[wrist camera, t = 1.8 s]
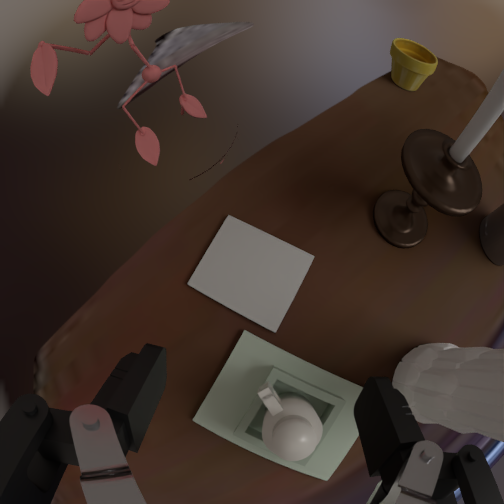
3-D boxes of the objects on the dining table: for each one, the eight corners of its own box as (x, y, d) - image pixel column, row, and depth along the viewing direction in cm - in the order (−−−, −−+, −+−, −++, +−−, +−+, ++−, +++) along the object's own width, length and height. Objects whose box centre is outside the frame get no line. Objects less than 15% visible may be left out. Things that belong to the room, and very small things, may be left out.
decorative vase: (387, 354, 32) (534, 356, 8) (449, 334, 32) (587, 307, 8) (393, 427, 29) (514, 496, 5) (453, 402, 29) (581, 424, 5)
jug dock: (379, 394, 31) (390, 399, 27) (326, 478, 27) (330, 490, 24) (245, 330, 35) (242, 329, 31) (194, 418, 32) (185, 426, 28)
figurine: (108, 175, 44) (-8, 27, 10) (210, 88, 49) (176, -70, 15) (158, 226, 40) (1, 30, 7) (271, 121, 45) (266, -77, 12)
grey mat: (314, 257, 37) (314, 256, 36) (275, 332, 34) (275, 332, 34) (229, 216, 40) (228, 214, 39) (188, 284, 37) (187, 284, 36)
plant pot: (390, 63, 49) (399, 33, 40) (428, 85, 47) (441, 55, 38) (376, 79, 47) (387, 45, 38) (418, 103, 45) (434, 71, 36)
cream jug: (321, 419, 30) (339, 448, 20) (280, 442, 29) (282, 479, 19) (286, 366, 32) (291, 377, 22) (244, 390, 32) (232, 411, 22)
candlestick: (441, 232, 37) (592, 81, 3) (395, 268, 36) (594, 90, 2) (401, 177, 40) (501, -8, 6) (353, 206, 39) (453, -33, 5)
